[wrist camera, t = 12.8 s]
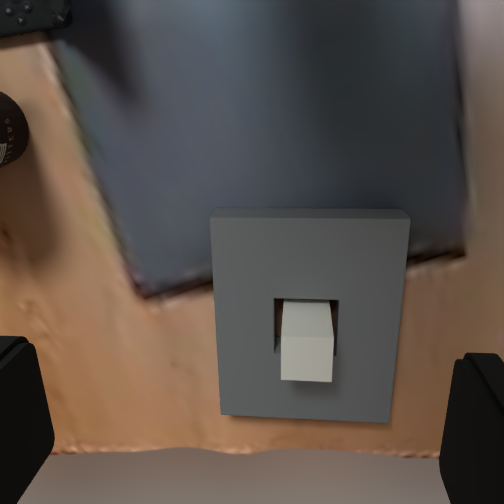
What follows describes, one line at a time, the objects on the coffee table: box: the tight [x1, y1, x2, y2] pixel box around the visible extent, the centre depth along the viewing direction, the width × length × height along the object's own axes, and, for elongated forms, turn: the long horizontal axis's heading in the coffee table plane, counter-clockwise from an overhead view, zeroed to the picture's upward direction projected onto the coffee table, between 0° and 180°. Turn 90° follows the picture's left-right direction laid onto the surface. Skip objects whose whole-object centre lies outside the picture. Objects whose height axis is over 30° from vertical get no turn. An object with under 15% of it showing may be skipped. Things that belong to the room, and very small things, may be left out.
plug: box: [281, 298, 334, 382], centre depth 39 cm, size 4×4×8 cm
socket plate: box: [210, 208, 411, 423], centre depth 42 cm, size 20×16×3 cm
